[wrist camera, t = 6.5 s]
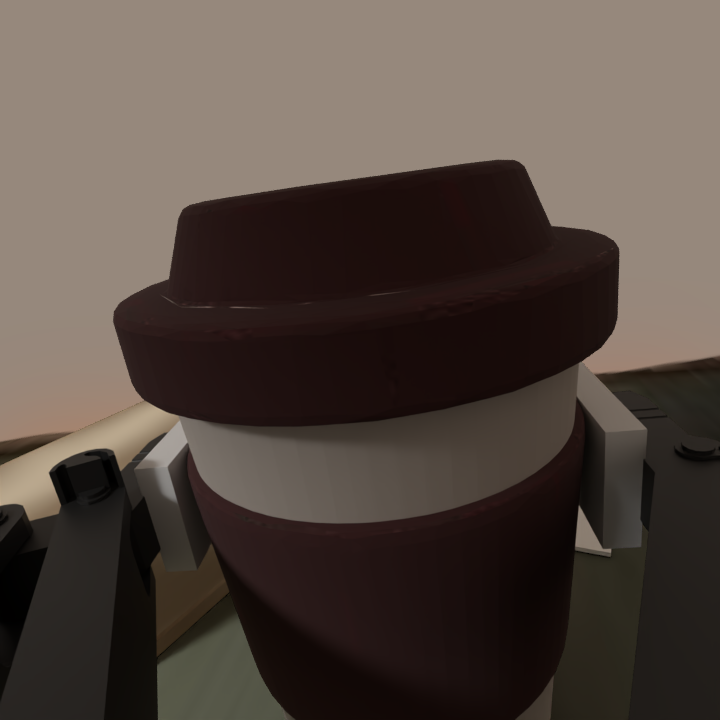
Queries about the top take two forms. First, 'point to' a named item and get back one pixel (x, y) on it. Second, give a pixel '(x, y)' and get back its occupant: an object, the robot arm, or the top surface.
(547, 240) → the coffee cup
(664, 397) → the top surface
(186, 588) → the tan flat block
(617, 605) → the top surface
